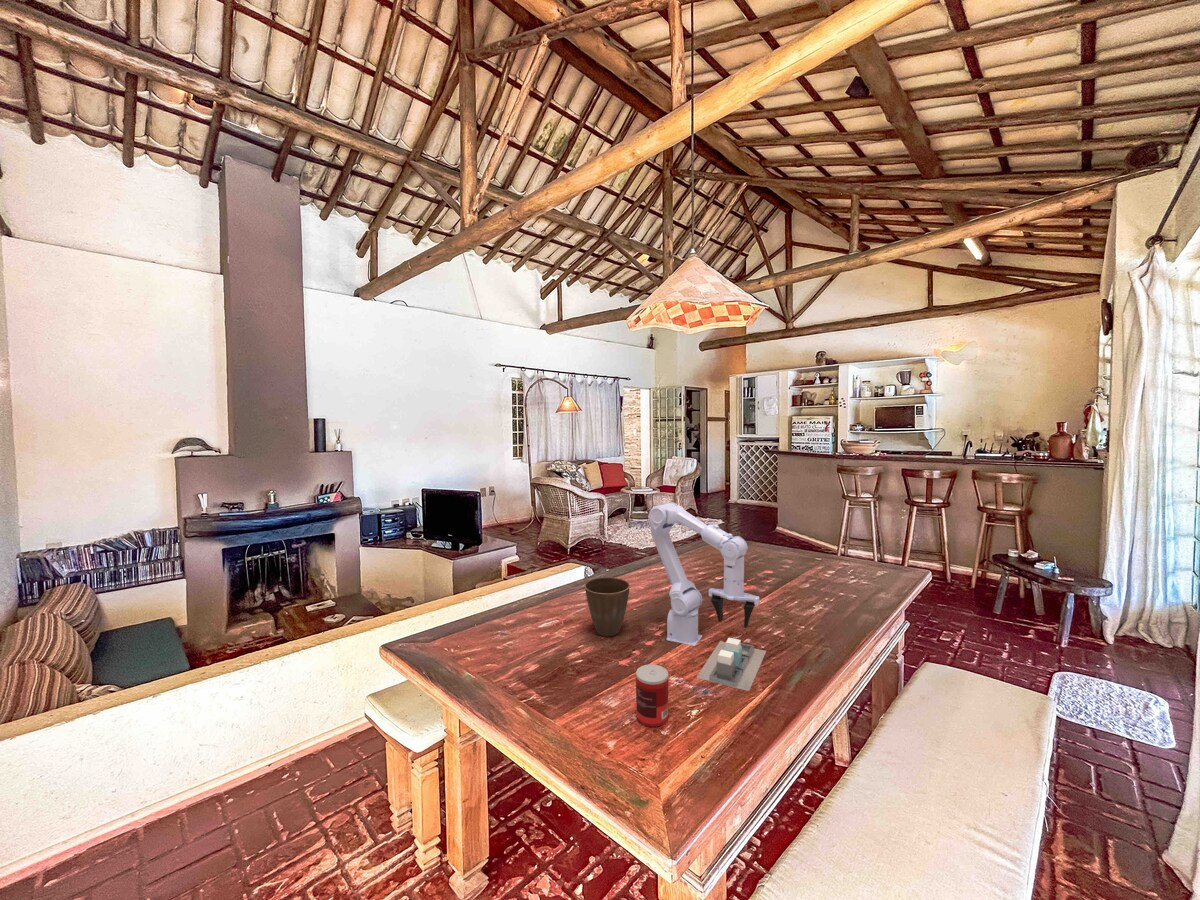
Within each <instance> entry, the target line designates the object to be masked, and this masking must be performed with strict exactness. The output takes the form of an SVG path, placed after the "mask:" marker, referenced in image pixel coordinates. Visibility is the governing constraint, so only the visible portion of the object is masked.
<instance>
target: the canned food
mask: <svg viewBox="0 0 1200 900" xmlns="http://www.w3.org/2000/svg"><path fill="white" fill-rule="evenodd" d="M635 704H636V705H635V708H636V709H635V713H636V714H635V715H636V718H637V720H638V721H639V722H640V724H642V725H644V726H646V727H649V728H657V727H661V726H662V725H664V724H665V723H667V720H668V718H669V672H668V670H667V669H666V668H665V667H664V666H661V665H658V664H645V665H641V666H640V667H638V668H637V669H636V672H635Z"/></svg>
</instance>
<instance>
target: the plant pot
mask: <svg viewBox="0 0 1200 900" xmlns="http://www.w3.org/2000/svg"><path fill="white" fill-rule="evenodd" d="M630 586H631V584H630V583H629V582H628V581H627V580H625V579H622V578H617V577H599V578H594V579H591V580H588V581H587V582H586V583H585V584H584V589H585V597H586V601H587V606H588V610H589V613H590V614H589V615H590V616H591V620H592V624H593V625H594V628H595V630H596V633H597V634H598V635H600V636H601V637H614V636H616V635H618V634H619V632H620V630H621V627H622V626H623V625H622V624H623V622H624V618H625V614H626V612H627V607H628V601H629V594H630V588H631V587H630Z"/></svg>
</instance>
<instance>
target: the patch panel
mask: <svg viewBox="0 0 1200 900" xmlns="http://www.w3.org/2000/svg"><path fill="white" fill-rule="evenodd" d="M741 646H742V662H741V664H740V666H735V676H734V678H733V680H729V679H725V678H721V677H717V661H718V654H719V653H720V651H721V650H724V649H725V648H726V641H723V640H720V641H719V642H718V643H717V645H716V646H715V648H714V649H713V651H712V653H711V654H710V655H709V657H708V659H707V660H706V662H705V664H704V665H703V666H702V668H701V669H700V671H699V673H698V674H697V676H696V678H697V679H701V680H704V681H708V682H712V683H716V684H720V685H724V686H728V687H731V688H735V689H739V690H742V691H747V692H750V690H751V687H752V685H753V682H754V681H755V678H756V676H757V673H758V672H759V669H760V666H761V665H762V662H763V660H764V657H765V655H766V653H767V650H762V649H760V648H759V649H758V648H755V645H752V644H748V643H747V644H746V643H742V642H741Z"/></svg>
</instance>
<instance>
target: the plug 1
mask: <svg viewBox="0 0 1200 900" xmlns="http://www.w3.org/2000/svg"><path fill="white" fill-rule="evenodd" d="M741 641H742V640H741V639H737V638H732V637H728V638H727V640H726V641H725V642H726V648H725V649H724V650H726V651H730V652H734V659H735V666H740V664H741V662H742V646H741V643H742V642H741Z"/></svg>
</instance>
